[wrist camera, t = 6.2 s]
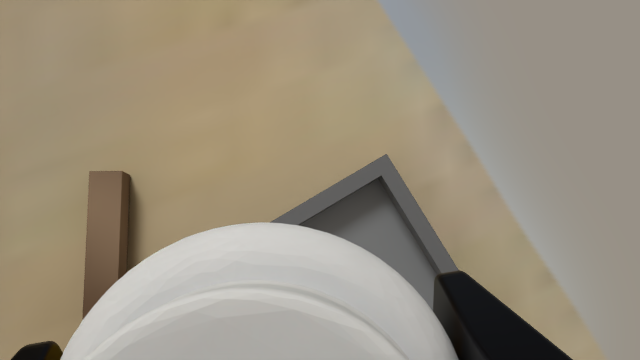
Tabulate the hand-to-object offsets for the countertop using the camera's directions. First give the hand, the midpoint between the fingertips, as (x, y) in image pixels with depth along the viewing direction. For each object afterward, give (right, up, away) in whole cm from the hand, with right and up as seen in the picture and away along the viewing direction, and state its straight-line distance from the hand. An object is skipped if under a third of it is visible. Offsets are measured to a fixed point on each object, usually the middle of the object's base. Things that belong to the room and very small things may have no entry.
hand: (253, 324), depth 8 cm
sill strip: (-7, -4, +12) cm, 15 cm away
